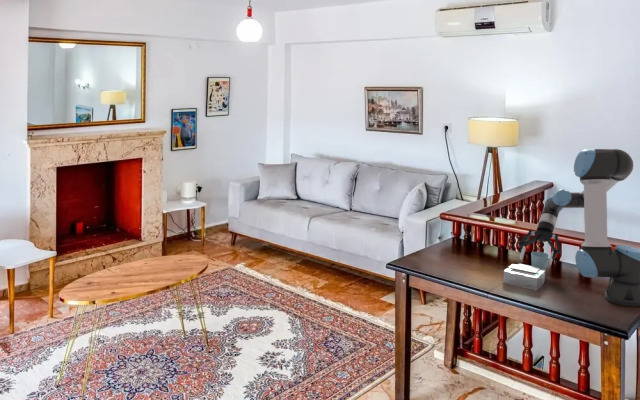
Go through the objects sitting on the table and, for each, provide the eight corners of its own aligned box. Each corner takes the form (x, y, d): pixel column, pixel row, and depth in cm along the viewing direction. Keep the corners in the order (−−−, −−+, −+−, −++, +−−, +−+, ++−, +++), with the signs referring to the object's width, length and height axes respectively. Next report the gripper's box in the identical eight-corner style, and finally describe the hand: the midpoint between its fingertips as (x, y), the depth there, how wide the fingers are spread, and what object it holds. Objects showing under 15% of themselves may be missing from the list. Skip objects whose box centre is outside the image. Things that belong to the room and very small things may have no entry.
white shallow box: (513, 272, 267) (514, 261, 265) (544, 279, 258) (545, 267, 257) (506, 278, 258) (506, 267, 257) (537, 285, 250) (538, 274, 248)
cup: (550, 276, 265) (552, 255, 263) (538, 278, 262) (539, 257, 260) (538, 271, 272) (539, 250, 269) (526, 273, 269) (527, 253, 266)
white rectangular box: (511, 275, 266) (512, 263, 265) (544, 282, 257) (545, 270, 256) (503, 283, 257) (503, 270, 255) (536, 290, 248) (537, 277, 246)
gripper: (574, 232, 272) (563, 270, 264) (522, 224, 286) (510, 259, 278) (572, 224, 266) (561, 262, 258) (520, 216, 281) (507, 252, 273)
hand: (534, 261), depth 268 cm, fingers open, 13 cm apart
